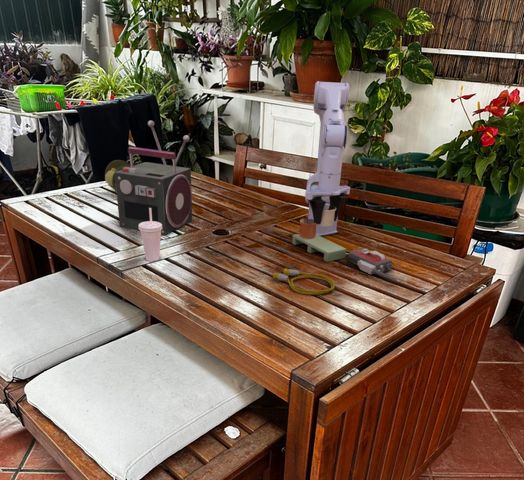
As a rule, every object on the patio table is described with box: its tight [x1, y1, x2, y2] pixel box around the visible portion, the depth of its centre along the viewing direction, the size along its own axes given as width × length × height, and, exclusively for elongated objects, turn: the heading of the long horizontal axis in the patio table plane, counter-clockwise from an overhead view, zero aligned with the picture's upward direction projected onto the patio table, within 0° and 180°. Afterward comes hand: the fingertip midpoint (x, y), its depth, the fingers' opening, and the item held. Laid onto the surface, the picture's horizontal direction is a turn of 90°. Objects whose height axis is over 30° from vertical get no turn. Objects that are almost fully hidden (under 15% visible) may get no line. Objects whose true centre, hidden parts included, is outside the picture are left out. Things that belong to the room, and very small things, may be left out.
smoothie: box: [138, 208, 162, 262], centre depth 141 cm, size 6×6×14 cm
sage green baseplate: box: [291, 233, 347, 263], centre depth 155 cm, size 7×17×3 cm, turn 34°
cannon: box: [104, 159, 131, 192], centre depth 199 cm, size 25×12×11 cm, turn 119°
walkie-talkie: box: [344, 247, 397, 282], centre depth 143 cm, size 9×4×20 cm
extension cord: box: [272, 267, 336, 296], centre depth 134 cm, size 12×16×2 cm
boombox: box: [114, 120, 193, 236], centre depth 163 cm, size 18×21×30 cm
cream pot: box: [317, 205, 336, 226], centre depth 145 cm, size 6×6×5 cm
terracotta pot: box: [298, 218, 317, 239], centre depth 157 cm, size 6×6×5 cm
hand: (324, 221), depth 146 cm, fingers closed on cream pot, 5 cm apart
